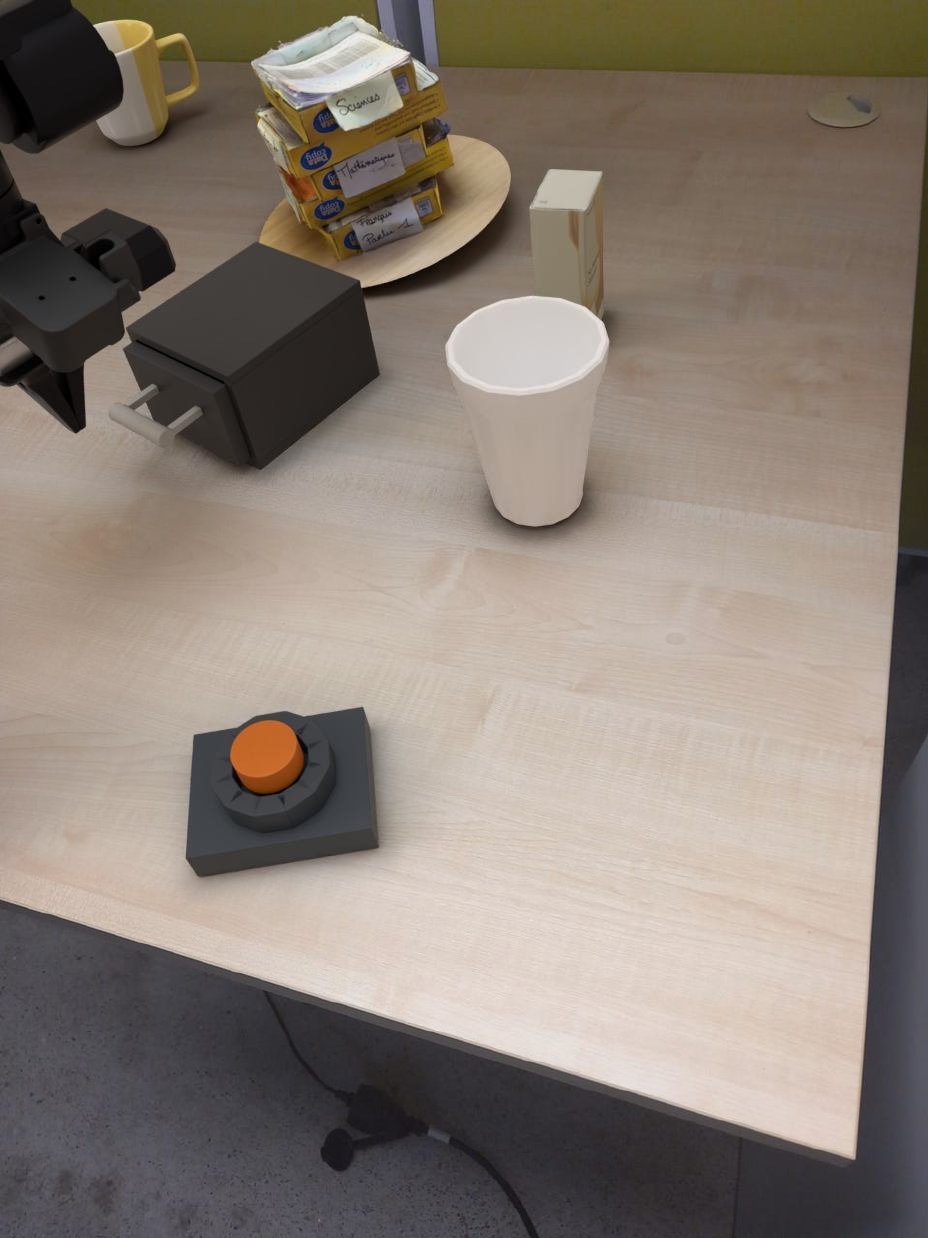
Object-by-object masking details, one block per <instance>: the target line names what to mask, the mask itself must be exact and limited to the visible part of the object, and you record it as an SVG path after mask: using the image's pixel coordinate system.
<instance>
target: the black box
mask: <svg viewBox="0 0 928 1238" xmlns="http://www.w3.org/2000/svg"><path fill="white" fill-rule="evenodd" d="M125 331H126V332H127V335H128V336H129V340H130V343H132V342H133V341H136V342H138V343H140V344H142V345H144V346H146V347H148V348H150V349H152V350H155V351H157V352H159V353H161V352H163V353H165V354H167V355H169V356H171V357H173V358H175V359H178V360H180V361H182V362H184V363H186V364H188V365H190V366H192V367H194V368H196V369H198V370H200V371H203V372H205V373H207V374H209V375H211V376H213V377H215V378H217V379H219V380H221V381H223V382H224V383H225V385H226V387H227V390H228V393H229V396H230V398H231V401H232V404H233V407H234V410H235V412H236V415H237V418H238V421H239V424H240V427H241V429H242V432H243V435H244V438H245V441H246V444H247V446H248V449H249V452H250V455H251V459H250V460H248V461H247V462H246V463H248V464H250V465H252V466H253V467H255V468H257V469H259V470H262V469H263V468H265V466H267V465H268V464H269V463H271V462H272V461H273V460H275V459H276V458H278V456H279V455H281V454H282V453H284V451H285V450H287V449H288V448H289V447H290V446H292V445H293V444H294V443H296V441H298V440H299V439H300V438H302V437H303V436H304V435H305V434H307V433H308V432H310V430H312V429H313V428H314V427H316V426H317V425H318V424H319V423H321V422H322V421H323V420H324V419H326V418H327V417H328V416H329V415H330V414H332V413H333V412H334V411H336V410H337V409H338V408H340V407H341V406H342V405H343V404H344V403H345V402H347V401H348V400H349V399H351V398H352V397H353V396H354V395H355V394H357V393H358V392H359V391H361V390H362V389H363V388H365V386H366V385H368V384H370V382H372V381H373V380H375V378H377V377H379V375H380V369H379V363H378V358H377V353H376V348H375V345H374V339H373V334H372V329H371V325H370V321H369V316H368V312H367V307H366V302H365V297H364V292H363V288H361V283H360V280H358V279H355V278H352V277H350V276H347V275H344V274H342V273H339V272H336V271H334V270H331V269H328V268H326V267H323V266H320V265H318V264H315V263H312V262H310V261H307V260H304V259H302V258H299V257H296V256H294V255H291V254H288V253H285V252H283V251H280V250H277V249H275V248H272V247H269V246H267V245H264V244H261V243H259V241H255V242H253V243H251V244H250V245H248V246H247V247H245V248H244V249H243V250H241V251H239V252H238V253H236V254H235V255H233V256H232V257H230V258H228V259H227V260H226V261H224V262H223V263H221V264H220V265H218V266H217V267H215V268H214V269H212V270H211V271H209V272H208V273H206V274H204V275H203V276H202V277H200V278H199V279H197V280H195V281H194V282H192V283H191V284H189V285H188V286H186V287H185V288H183V289H182V290H180V291H179V292H178V293H176V294H174V295H173V296H171V297H170V298H168V299H167V300H164V302H162V303H160V304H159V305H158V306H156V307H155V308H153V309H152V310H150V311H149V312H147V313H146V314H144V315H142V316H141V317H139V318H137V320H134V321H133V322H132V323H131V324H129V325H127V326H126V327H125ZM161 354H162V353H161Z"/></svg>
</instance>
